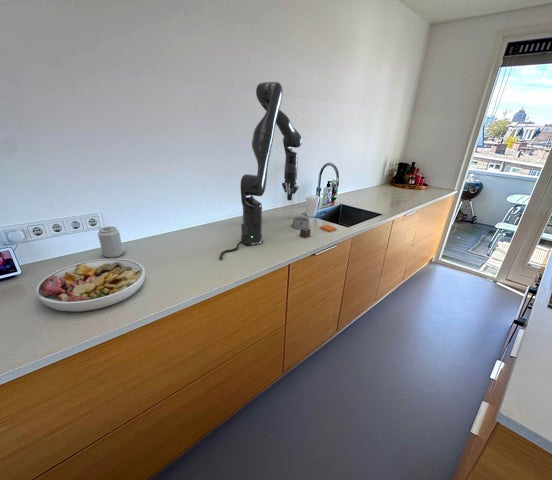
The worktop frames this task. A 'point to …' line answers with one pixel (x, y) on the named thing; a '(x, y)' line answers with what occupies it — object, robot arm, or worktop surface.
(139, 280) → the bowl
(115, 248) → the can
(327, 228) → the orange cloth
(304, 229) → the walnut block
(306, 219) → the steel pot
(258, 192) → the robot arm
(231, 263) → the worktop surface
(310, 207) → the foam cup
